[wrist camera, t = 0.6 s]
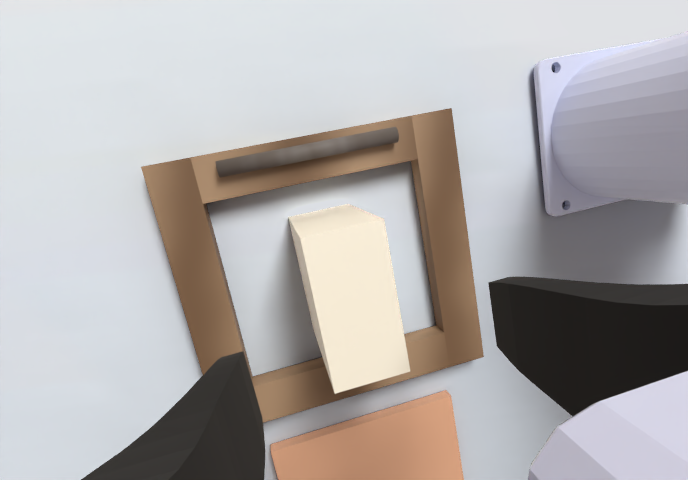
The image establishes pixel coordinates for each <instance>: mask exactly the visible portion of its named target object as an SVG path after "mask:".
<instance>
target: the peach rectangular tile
mask: <svg viewBox="0 0 688 480" xmlns="http://www.w3.org/2000/svg"><path fill="white" fill-rule="evenodd" d="M271 454H272V458H273V462H274V466H275V469H276V473H277V477H278V480H464V478H463V472H462V465H461V459H460V452H459V445H458V439H457V432H456V426H455V419H454V413H453V406H452V399H451V395H450V394H449V393H448V392H447V391H446V390H445V391H442V392H439V393H436V394H432V395H429V396H426V397H423V398H419V399H416V400H413V401H410V402H406V403H403V404H400V405H397V406H393V407H390V408H387V409H384V410H380V411H377V412H374V413H371V414H367V415H364V416H361V417H358V418H354V419H351V420H348V421H345V422H341V423H338V424H335V425H332V426H328V427H325V428H322V429H319V430H315V431H312V432H309V433H306V434H302V435H299V436H296V437H293V438H289V439H286V440H283V441H280V442H276V443H273V444H271Z"/></svg>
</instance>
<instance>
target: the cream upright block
mask: <svg viewBox="0 0 688 480" xmlns="http://www.w3.org/2000/svg"><path fill="white" fill-rule="evenodd" d="M288 218H289V223H290V227H291V232H292V236H293V241H294V245H295V250H296V254H297V258H298V263H299V267H300V272H301V276H302V281H303V285H304V290H305V294H306V298H307V303H308V307H309V312H310V316H311V321H312V325H313V330H314V333H315V336H316V339H317V342H318V345H319V348H320V351H321V354H322V357H323V360H324V363H325V366H326V369H327V372H328V375H329V378H330V381H331V384H332V387H333V390H334V393H335V394H336V393H339V392H343V391H346V390H349V389H353V388H356V387H360V386H363V385H366V384H370V383H373V382H377V381H380V380H383V379H387V378H390V377H393V376H397V375H400V374H404V373H407V372H410V366H409V360H408V354H407V348H406V343H405V337H404V331H403V325H402V320H401V314H400V308H399V302H398V297H397V291H396V285H395V279H394V274H393V268H392V262H391V256H390V251H389V245H388V239H387V233H386V228H385V222H384V219H383V218H380V217H378V216H376V215H373V214H371V213H369V212H366V211H364V210H362V209H359V208H357V207H354V206H352V205H350V204H345V205H341V206H336V207H332V208H327V209H323V210H318V211H313V212H309V213H304V214H300V215H295V216H291V217H288Z"/></svg>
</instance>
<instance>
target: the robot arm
mask: <svg viewBox="0 0 688 480" xmlns="http://www.w3.org/2000/svg"><path fill="white" fill-rule="evenodd" d="M552 64H553V65H554V66H555V72H552V69H551V67H552ZM534 82H535V94H536V105H537V117H538V128H539V140H540V152H541V163H542V175H543V186H544V198H545V209H546V212H547V213H548V214H549V215H551V216H561V215H565V214H569V213H573V212H578V211H582V210H586V209H590V208H594V207H598V206H602V205H606V204H610V203H614V202H618V201H622V200H626V199H632V200H643V201H654V202H665V203H676V204H687V205H688V31H686V32H683V33H680V34H677V35H673V36H670V37H667V38H662V39H656V40H651V41H645V42H639V43H633V44H628V45H622V46H616V47H611V48H605V49H599V50H594V51H588V52H582V53H576V54H571V55H565V56H559V57H554V58H548V59H544V60H541V61H539V62H538V63H537V64H536V65H535V67H534ZM564 201H565V207H564V208H562V203H563V202H564ZM489 290H490V298H491V305H492V313H493V320H494V328H495V335H496V342H497V346H498V348H499V349H500V350H501V351H502V352H503V354H504V355H505V356H506V357H507V358H508V359H509V361H510V362H511V363H512V364H513V365H514V366H515V367H516V368H517V369H518V370H519V371H520V372H521V373H522V374H523V375H524V376H525V377H527V378H528V379H529V380H530V381H531V382H532V383H534V384H535V385H536V386H537V387H538V388H539V389H541V390H542V391H543V392H544V393H545V394H547V395H548V396H549V397H550V398H551V399H553V400H554V401H555V402H556V403H557V404H559V405H560V406H561V407H562V408H563V409H565V410H566V411H567V412H568V413H569V414H571V415H572V416H573V417H571V418H570V419H568V420H567V421H565V422H563V423H562V424H560V425H559V426H557V427H556V428H555V429H554V431H553V432H552V434H551V435H550V437H549V438H548V440H547V441H546V443H545V444H544V446H543V447H542V449H541V450H540V451H539V453H538V454H537V456H536V457H535V459H534V460H533V462H532V463H531V466H530V469H529V476H528V480H688V284H673V285H634V284H611V283H594V282H581V281H570V280H559V279H548V278H535V277H507V278H504V279H500V280H496V281H493V282H489ZM264 469H265V442H264V430H263V419H262V415H261V411H260V407H259V404H258V400H257V397H256V393H255V390H254V386H253V383H252V379H251V376H250V372H249V369H248V365H247V362H246V358H245V355H244V351H242V352H238V353H235V354H231V355H228V356H224V357H221V358H219V359H218V360H217V361H216V362H215V363H214V364H213V365H212V366H211V367H210V368H209V369H208V370H207V371H206V373H205V374H204V375H203V376H202V377H201V378H200V379H199V380H198V381H197V382H196V384H195V385H194V386H193V387H192V388H191V389H190V390H189V391H188V392H187V393H186V394H185V395H184V396H183V397H182V398H181V399H180V400H179V401H178V402H177V403H176V404H175V405H174V406H173V407H172V408H171V409H170V410H169V411H168V412H167V413H166V414H165V415H164V416H163V417H162V418H161V419H160V420H159V421H158V422H157V423H156V424H154V425H153V426H152V427H151V428H150V429H149V430H148V431H146V432H145V433H144V434H143V435H142V436H140V437H139V438H138V439H137V440H135V441H134V442H133V443H132V444H130V445H129V446H128V447H127V448H125V449H124V450H123V451H121V452H120V453H119V454H117V455H116V456H114V457H113V458H111V459H110V460H109V461H107V462H106V463H104V464H103V465H101V466H100V467H99V468H97V469H96V470H94V471H93V472H91V473H90V474H89V475H87V476H86V477H84V478H83V479H81V480H264Z"/></svg>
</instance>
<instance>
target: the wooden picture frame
mask: <svg viewBox="0 0 688 480" xmlns="http://www.w3.org/2000/svg"><path fill="white" fill-rule="evenodd" d="M407 161H411V166H412V172H413V179H414V185H415V192H416V198H417V205H418V211H419V217H420V224H421V230H422V237H423V243H424V250H425V256H426V263H427V269H428V276H429V282H430V289H431V295H432V302H433V308H434V315H435V321H436V326H432V327H429V328H425V329H421V330H418V331H414V332H411V333H407V334H404V337H405V343H406V348H407V354H408V360H409V366H410V372H407V373H404V374H400V375H397V376H393V377H390V378H387V379H383V380H380V381H377V382H373V383H370V384H366V385H363V386H360V387H356V388H353V389H349V390H346V391H343V392H339V393H336V394H335V393H334V390H333V387H332V384H331V381H330V378H329V375H328V372H327V369H326V366H325V363H324V360H323V357H321V358H318V359H314V360H310V361H307V362H303V363H300V364H296V365H293V366H289V367H285V368H282V369H278V370H275V371H271V372H267V373H264V374H260V375H257V376H253V377H252V373H251V369H250V366H249V362H248V358H247V354H246V351H245V347H244V343H243V339H242V336H241V332H240V328H239V324H238V321H237V317H236V313H235V309H234V306H233V302H232V298H231V294H230V291H229V287H228V283H227V280H226V276H225V272H224V268H223V265H222V261H221V257H220V253H219V250H218V246H217V242H216V238H215V235H214V231H213V227H212V223H211V220H210V216H209V212H208V208H207V205H206V203H209V202H214V201H219V200H224V199H229V198H234V197H238V196H243V195H248V194H253V193H258V192H262V191H267V190H272V189H277V188H282V187H286V186H291V185H296V184H301V183H306V182H311V181H315V180H320V179H325V178H330V177H335V176H339V175H344V174H349V173H354V172H359V171H363V170H368V169H373V168H378V167H383V166H388V165H392V164H397V163H402V162H407ZM141 168H142V171H143V175H144V178H145V181H146V185H147V188H148V192H149V195H150V198H151V202H152V205H153V208H154V212H155V215H156V219H157V222H158V225H159V229H160V232H161V235H162V239H163V242H164V246H165V249H166V252H167V256H168V259H169V262H170V266H171V269H172V273H173V276H174V279H175V283H176V286H177V289H178V293H179V296H180V300H181V303H182V306H183V310H184V313H185V317H186V320H187V323H188V327H189V330H190V333H191V337H192V340H193V344H194V347H195V350H196V354H197V357H198V360H199V364H200V367H201V371H202V374H203V375H204V374H205V373H206V371H207V370H208V369H209V368H210V367H211V366H212V365H213V364H214V363H215V362H216V361H217V360H218V359H219V358H221V357H224V356H228V355H231V354H235V353H238V352H242V351H244V355H245V358H246V362H247V365H248V369H249V372H250V376H251V379H252V383H253V386H254V390H255V393H256V397H257V400H258V404H259V407H260V411H261V415H262V419H263V422H267V421H270V420H274V419H277V418H280V417H284V416H287V415H290V414H294V413H297V412H300V411H304V410H307V409H310V408H314V407H317V406H320V405H324V404H327V403H330V402H334V401H337V400H341V399H344V398H347V397H351V396H354V395H357V394H361V393H364V392H367V391H371V390H374V389H377V388H381V387H384V386H387V385H391V384H394V383H397V382H401V381H404V380H408V379H411V378H414V377H418V376H421V375H424V374H428V373H431V372H434V371H438V370H441V369H444V368H448V367H451V366H454V365H458V364H461V363H464V362H468V361H471V360H475V359H478V358H481V357H484V356H483V348H482V340H481V333H480V325H479V317H478V309H477V302H476V294H475V286H474V279H473V271H472V263H471V255H470V248H469V240H468V232H467V225H466V217H465V209H464V201H463V194H462V186H461V178H460V171H459V163H458V155H457V147H456V140H455V132H454V124H453V117H452V109H451V108H450V109H445V110H440V111H434V112H429V113H424V114H418V115H413V116H408V117H403V118H397V119H392V120H387V121H381V122H376V123H371V124H366V125H360V126H355V127H350V128H344V129H339V130H334V131H329V132H323V133H318V134H313V135H307V136H302V137H297V138H292V139H286V140H281V141H276V142H270V143H265V144H260V145H255V146H249V147H244V148H239V149H233V150H228V151H223V152H218V153H212V154H207V155H202V156H196V157H191V158H186V159H181V160H175V161H170V162H165V163H159V164H154V165H149V166H144V167H141Z"/></svg>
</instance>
